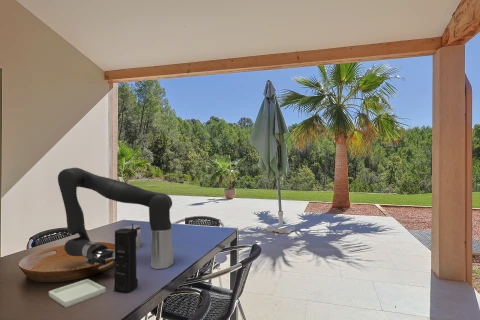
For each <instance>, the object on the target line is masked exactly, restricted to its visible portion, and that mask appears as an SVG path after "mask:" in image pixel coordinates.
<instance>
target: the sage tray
mask: <svg viewBox="0 0 480 320" xmlns="http://www.w3.org/2000/svg"><path fill="white" fill-rule="evenodd" d="M106 289H107V288H106V287H105V286H103V285H101V284H99V283H97V282H96V281H95V282H94V281H93V280H91V279H89V278H86V279H83V280H80V281H77V282H74V283H70V284H67V285H64V286H61V287H57V288H55V289H52V290H49V291H48V297H49V298H50V299H52V300H53V301H55V302H56V303H58V304H59V305H61V306H63V307H64V308H68V307H71V306H73V305H76V304H79V303H82V302H84V301H87V300H90V299H93V298H95V297H99V296H100V295H103V294H106Z"/></svg>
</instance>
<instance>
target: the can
mask: <svg viewBox="0 0 480 320" xmlns="http://www.w3.org/2000/svg"><path fill="white" fill-rule="evenodd" d="M124 228H126V229H132V225H128V226H123V227H120V228H119V229H124ZM133 228H134V229H136V230H137V237H136V251H137V250H140V248H141V247H142V246H141V245H142V243H141V235H142V234H141V231H142V230H141V225H140V224H138V225H137V224H133Z"/></svg>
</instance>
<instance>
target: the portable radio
mask: <svg viewBox="0 0 480 320" xmlns="http://www.w3.org/2000/svg"><path fill="white" fill-rule="evenodd" d="M133 225H134V223H131V226H132V229H126V228H124V229H120V228H119V229H116V230H114V250H115V259H114V285H113V286H114V287H113V289H114V291H115V292H121V293H127V294H128V293H131V292H132V291H134V290H136V289H137V288H138V285H139V284H138V283H139V282H138V278H137V250H136V237H137V230H136V229H134V228H133Z"/></svg>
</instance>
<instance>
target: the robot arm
mask: <svg viewBox="0 0 480 320" xmlns="http://www.w3.org/2000/svg"><path fill="white" fill-rule="evenodd" d="M57 183H58V186H59V187H58V188H59V191H60V195H61V198H62V202H63V205H64V211H65V215H66V217H65V218H66V227H67V232H68V234H70V235H79V236H78V237H75V238H72V239H68V240H67V241H66V242H65V244H64V251H65V253H66V254H67V255H69V256H72V257H83V258H85V263H87V264H89V265H91V266H94V265H95V264H96V265H101V266H105V265H106V260H109V259H110V260H111V259H114V260H115V249H110V248H109V247H108V246H107V245H106V244H102V243H100V242H96V241H91V239H90V237H89V235H88V232H87V230H86V225H85V216H84V215H85V214H84V211H83V209H82V207H81V205H80V203H79V200H78V196H77V195H78V193H77V190H78V188H84V189H87V190H92V191H93V192H94V191H95V192H96V193H97V194H99V195H101V196H102V197H104V198H106V199H108V200H111V201H114V202H118V203H124V204H131V205H132V204H133V205H140V206H144V207H148V215H149V216H148V219H149V226H150V267H151V268H152V269H155V270H163V269H168V268H170V267H171V266H172V265H174V244H173V243H172V222H171V214H170V209H171V208H172V206H173V200H172V198H171V196H169V195H168V194H166V193H163V192H157V191H152V190H147V189H143V188H141V187H138V186H135V185H133V184H130V183H127V182H124V181H120V180H117V179H112V178H109V177H106V176H100V175H98V174H95V173H92V172H90V171H88V170H85V169H82V168H79V167H69V168H65V169H62V170H61V171H60V172H59V173H58V175H57Z"/></svg>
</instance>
